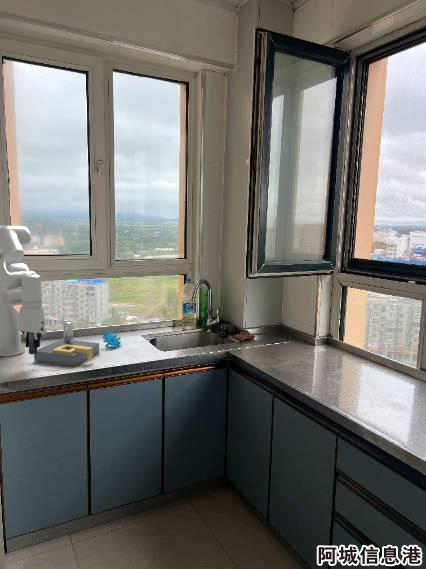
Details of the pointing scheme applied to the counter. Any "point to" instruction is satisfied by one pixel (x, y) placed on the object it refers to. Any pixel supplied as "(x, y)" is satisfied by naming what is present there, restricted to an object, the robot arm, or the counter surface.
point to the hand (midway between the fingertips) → (32, 346)
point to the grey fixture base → (64, 359)
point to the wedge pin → (31, 343)
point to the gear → (111, 340)
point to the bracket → (75, 350)
